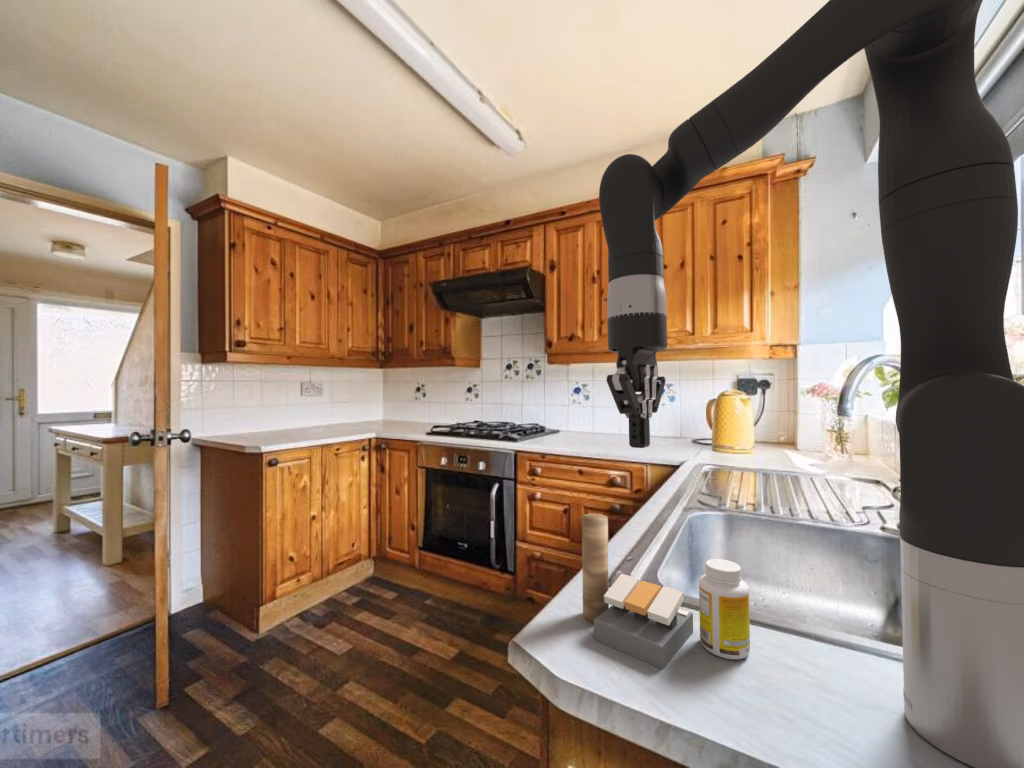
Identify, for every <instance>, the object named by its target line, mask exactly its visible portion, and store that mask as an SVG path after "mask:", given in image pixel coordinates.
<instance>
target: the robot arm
mask: <svg viewBox="0 0 1024 768" xmlns="http://www.w3.org/2000/svg"><path fill="white" fill-rule="evenodd" d="M982 3H983V0H828V1H827V2H826V3H825V4H824V5H822V7H820V8H819V10H817V12H816V13H814V14H813V15H812V16H811V17H810V18H809V19H808V20H807V21H806V22H805V23H803V25H801V26H800V27H799V28H798V29H797V30H796V31H795V32H794V33H793V34H791V35H790V36H789V37H788V38H787V39H786V40H785V41H784V42H783V43H782V44H780V45H779V46H778V47H777V48H776V49H775V50H774V51H772V52H771V53H770V54H769V55H768V56H766V58H764V60H762V61H761V62H760V63H759V64H758V65H757V66H755V67H754V68H753V69H752V70H751V71H749V72H748V73H747V74H745V75H744V76H743V77H742V78H740V79H739V80H738V81H736V83H734V84H733V85H731V86H730V87H729V88H727V89H726V90H725V91H724V92H722V93H721V94H719V95H718V96H717V97H715V98H714V99H713V100H711V101H709V103H707V104H706V105H704V106H703V107H702V108H701V109H699V110H698V111H696V112H695V113H694V114H693V115H691V116H690V117H689V118H687V119H686V120H684V121H683V122H682V123H680V124H679V125H678V126H676V128H675V129H674V130H673V131H672V132H671V133H670V134H669V138H668V140H667V141H668V142H667V147H668V148H667V150H666V152H665V153H664V154H663V155H662V156H661V157H660V158H659V159H658V160H657V161H656V162H655V163H654V164H653V165H651V163H650V162H649V161H648V159H646V158H644V157H643V156H641V155H638V154H633V153H628V154H627V153H626V154H623V155H620V156H618V157H616V158H614V160H613V161H611V162H610V163H609V164H608V166H607V167H606V168H605V170H604V172H603V174H602V177H601V180H600V184H599V191H598V192H599V193H598V194H599V196H598V201H599V209H600V216H601V222H602V226H603V232H604V233H603V234H604V237H605V241H606V244H607V253H608V256H607V265H608V266H607V269H608V273H607V275H608V288H607V298H606V307H607V308H606V309H607V310H606V311H607V312H606V313H607V317H606V318H607V319H606V320H607V322H606V323H607V349H608V352H610V353H612V354H617V358H616V363H615V365H616V371H615V373H614V374H607V376H606V383H607V386H608V388H609V391H610V393H611V395H612V398H613V401H614V402H615V405H616V407H617V410H618V412H619V414H620V415H622V414H623V415H625V418H626V419H628V439H629V441H628V444H629V446H630V447H631V448H633V449H634V448H637V449H644V448H648V447H650V445H651V438H650V437H651V434H650V432H651V430H650V419H651V418H652V417H653V414H655V413H658V410H659V406H660V402H661V400H662V395H663V392H664V389H665V386H666V381H667V380H666V377H665V376H659V367H658V362H657V357H656V353H658V352H662V351H665V350H666V349H667V347H668V318H667V317H668V316H667V313H668V312H667V294H666V293H667V292H666V289H665V288H666V287H665V279H664V254H663V252H664V251H663V245H662V241H661V238H660V236H659V234H658V232H657V228H656V221H657V220H658V219H660V218H661V217H663V216H664V215H665V214H667V213H668V212H669V211H670V210H671V209H672V208H674V207H675V206H676V205H677V204H678V203H679V202H680V201H682V199H684V197H685V196H687V195H688V194H689V192H691V191H692V190H693V189H694V188H695V187H696V186H697V185H698V184H699V183H700V182H701V181H702V180H703V179H704V178H706V177H707V176H710V175H711V174H712V173H714V172H716V171H717V170H719V169H720V168H722V167H724V166H725V165H727V164H728V163H729V162H731V161H733V160H734V159H735V158H737V157H739V156H740V155H742V154H743V153H744V152H746V151H747V150H749V149H750V148H751V147H753V146H754V145H756V144H757V143H758V142H760V141H761V140H762V139H763V138H764V137H765V136H767V135H768V134H769V133H770V132H772V130H773V129H775V128H776V127H777V126H778V125H779V124H780V123H781V122H782V121H783V120H784V119H785V118H786V116H788V115H789V114H790V113H791V112H792V111H793V110H794V109H795V108H796V106H798V105H799V104H800V102H801V101H802V100H804V99H805V98H806V97H807V96H808V95H809V94H810V93H811V92H812V91H813V90H814V89H816V87H817V86H819V84H821V82H823V81H824V80H825V79H826V78H827V77H829V76H830V75H832V73H833V72H834V71H836V70H837V69H838V68H839V67H840V66H842V65H843V64H844V63H846V62H847V61H849V60H850V59H851V58H852V57H853V56H855V55H856V54H857V53H859V52H861V51H862V50H863V49H864V55H865V57H866V61H867V65H868V69H869V72H870V76H871V80H872V86H873V90H874V94H875V99H876V104H877V110H878V118H879V119H878V120H879V133H878V134H879V135H878V148H877V149H878V155H877V180H878V183H877V184H878V189H877V190H878V191H877V192H878V209H879V211H878V212H879V223H880V234H881V236H880V237H881V243H882V250H883V256H884V262H885V267H886V268H885V269H886V273H887V278H888V283H889V289H890V292H891V296H892V301H893V305H894V309H895V312H896V317H897V321H898V327H899V335H900V336H899V337H900V338H899V339H900V365H899V366H900V367H899V368H900V369H899V385H898V397H897V405H896V411H895V423H896V425H895V426H896V429H897V432H898V438H899V439H898V441H899V474H900V475H899V478H900V480H899V481H900V499H899V502H900V503H899V511H898V512H899V515H898V516H899V517H898V518H899V538H900V539H899V541H900V543H899V544H900V574H901V575H900V577H901V578H900V579H901V583H900V584H901V585H900V586H901V589H900V590H901V624H902V626H901V630H902V631H901V632H902V666H903V667H902V670H903V687H902V688H903V689H902V690H903V691H902V693H903V704H904V705H903V708H904V710H903V711H904V716H905V718H906V720H907V722H908V723H909V725H910V726H911V728H912V729H914V731H916V732H917V734H919V736H921V737H923V738H924V739H925V740H926V741H927V742H928V743H930V744H931V745H933V746H934V747H936V748H937V749H939V750H940V751H941V752H944V753H945V754H947V755H949V756H951V757H952V758H954V759H956V760H958V761H959V762H961V763H965V764H966V765H968V766H971V767H973V768H1024V385H1023V384H1021V383H1020V382H1017V381H1015V380H1014V376H1013V373H1012V372H1013V371H1012V368H1011V363H1010V356H1009V353H1008V347H1007V341H1006V334H1005V323H1004V322H1005V321H1004V320H1005V318H1004V317H1005V316H1004V315H1005V306H1006V300H1007V296H1008V295H1007V294H1008V289H1009V284H1010V280H1011V275H1012V270H1013V263H1014V257H1015V252H1016V247H1017V246H1016V244H1017V237H1018V226H1019V203H1018V193H1017V182H1016V172H1015V163H1014V158H1013V153H1012V150H1011V146H1010V143H1009V140H1008V138H1007V136H1006V134H1005V132H1004V130H1003V128H1002V127H1001V125H1000V124H999V122H998V121H997V119H996V118H995V117H994V115H993V114H992V113H991V111H990V110H989V108H988V107H987V105H986V104H985V102H984V101H983V99H982V98H981V95H980V93H979V91H978V86H977V82H976V73H975V42H976V41H975V39H976V28H977V20H978V14H979V12H980V9H981V6H982ZM638 393H639V394H638Z"/></svg>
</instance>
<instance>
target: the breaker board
mask: <svg viewBox="0 0 1024 768" xmlns="http://www.w3.org/2000/svg"><path fill="white" fill-rule="evenodd" d="M693 633H694V613H693V612H690V611H689V610H688V611H687V610H684V609H681V608H679V609H678V615H677V616H674V618H673V620H672V621H671V623H670V625H669V626H668V625H666V624H663V623H660V622H657V621H655V620H652V619H649V618H648V614H647V613H646V615H645V616H644V615H641V614H639V613H636V612H633V611H630V610H628V609H625V607H624V608H623V609H621V608H619V607H616V606H613V605H611V606H610V607H609V608H608V609H607V610H606V611H604V612H603V613H602V614H600V615H599V616H598V617H596V618H595V619H594V623H593V640H595V641H597V642H599V643H601V644H605V646H609V647H611V648H613V649H616V650H618V651H620V652H623V653H624V654H627V655H629V656H632V657H633V658H636V659H637V660H638V659H639V660H641V661H643V662H645V663H648V664H650V665H652V666H655V667H656V668H659V669H661V670H663V669H664V668H665V667H666V665H667V664H668V663H669V662H670V661H671V660H672V658H673V657H674V656H675V655H676V654H677V653H678V651H679V650H681V648H682V647H683V646H684V644H685V643H686V642H687V641H688V640H689V638H690V637H691V636H692V634H693Z"/></svg>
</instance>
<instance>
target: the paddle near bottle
mask: <svg viewBox="0 0 1024 768" xmlns="http://www.w3.org/2000/svg"><path fill="white" fill-rule="evenodd" d="M684 595H685V594H684V591H681V590H677V589H674V588H672V587H668V586H665V585H663V586H661V590H660V592H659V594H658V595H657V597H656V598H655V600H654V601H653V603H652V604H651V606H650V607H649V609H648V610H647V614H648V618H649V619H652V620H655V621H657V622H660V623H663V624H666V625H668V626H669V625H670V623H671V621H672V620H673V618H674V616H677V615H678V609H680V608H681V605H682V604H683V602H684V600H685V596H684Z"/></svg>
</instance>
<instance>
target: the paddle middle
mask: <svg viewBox="0 0 1024 768" xmlns="http://www.w3.org/2000/svg"><path fill="white" fill-rule="evenodd" d="M639 582H640V584H639V585H638V586H637V587H636V588H635V590H634V591H633V592H632V593H631V595H630V596H629V597H628V598H627V599H626V601H625V609H628V610H630V611H633V612H636V613H639V614H641V615H644V616H645V615H646V613H647V610H648V609H649V607H650V606H651V604H652V603H653V601H654V600H655V598H656V597H657V595H658V594H659V592H660V590H661V589H662V586H661V585H659V584H655V583H651V582H648V581H644V580H641V581H639Z"/></svg>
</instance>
